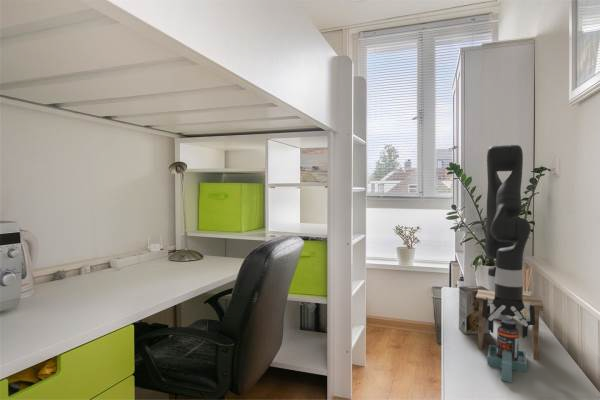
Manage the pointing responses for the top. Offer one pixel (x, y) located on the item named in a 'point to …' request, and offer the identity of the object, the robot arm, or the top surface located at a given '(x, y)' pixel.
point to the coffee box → (470, 310)
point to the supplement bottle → (508, 339)
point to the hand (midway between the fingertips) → (507, 334)
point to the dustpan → (507, 362)
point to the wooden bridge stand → (526, 300)
